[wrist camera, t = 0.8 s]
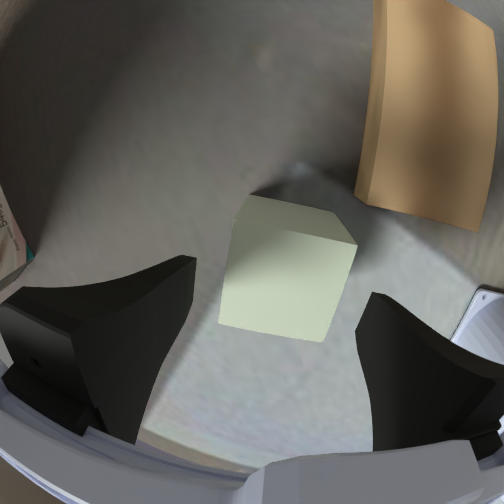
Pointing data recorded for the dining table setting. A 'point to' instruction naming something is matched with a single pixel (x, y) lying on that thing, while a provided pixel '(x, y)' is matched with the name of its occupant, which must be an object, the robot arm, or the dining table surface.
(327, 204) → the dining table surface
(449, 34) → the tan block
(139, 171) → the dining table surface
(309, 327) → the sage block
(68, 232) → the dining table surface
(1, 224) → the cake mix box
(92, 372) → the robot arm
